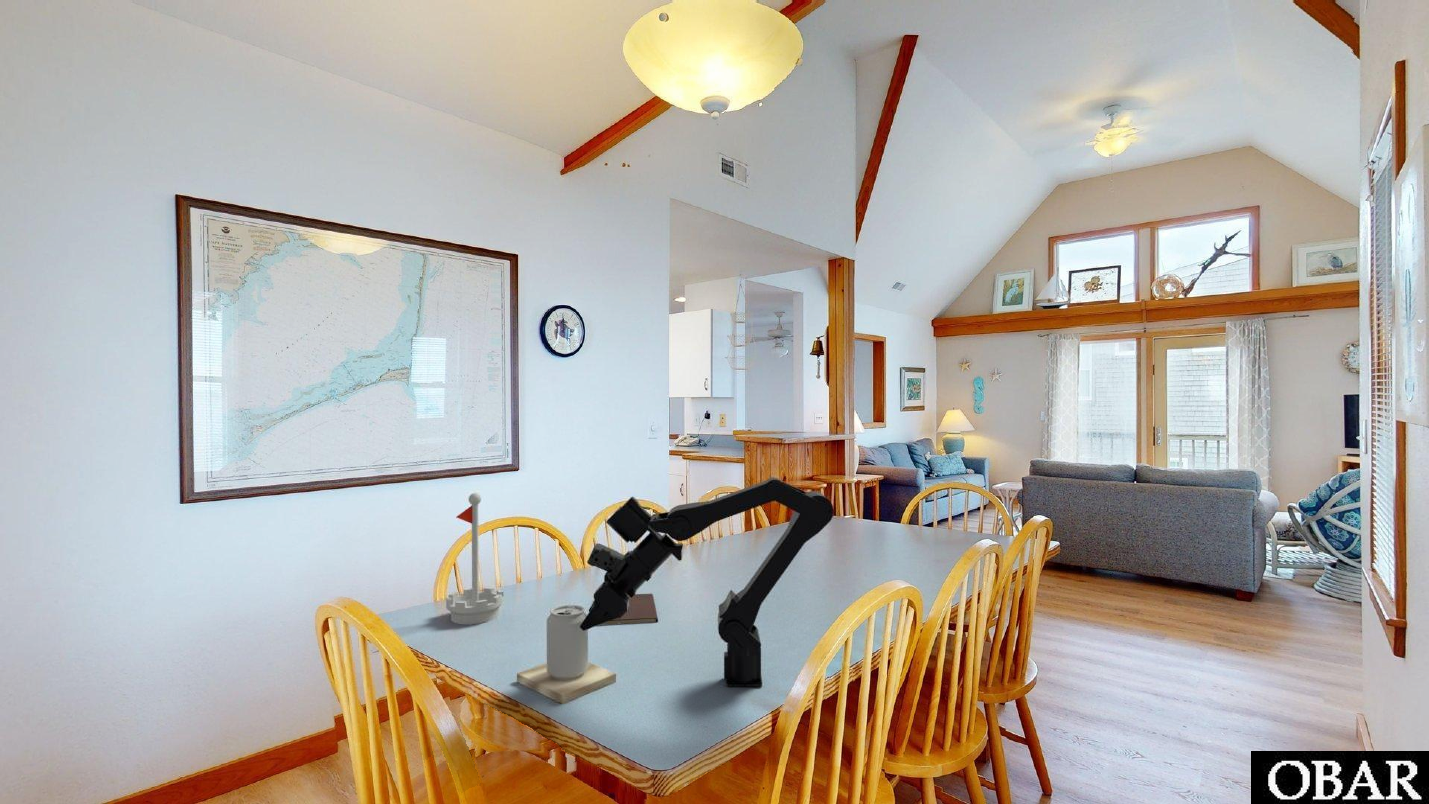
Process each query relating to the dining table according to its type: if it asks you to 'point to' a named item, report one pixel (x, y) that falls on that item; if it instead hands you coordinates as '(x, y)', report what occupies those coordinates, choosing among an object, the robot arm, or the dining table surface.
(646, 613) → the notebook
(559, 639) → the can
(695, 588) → the dining table surface
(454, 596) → the flag stand
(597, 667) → the board
